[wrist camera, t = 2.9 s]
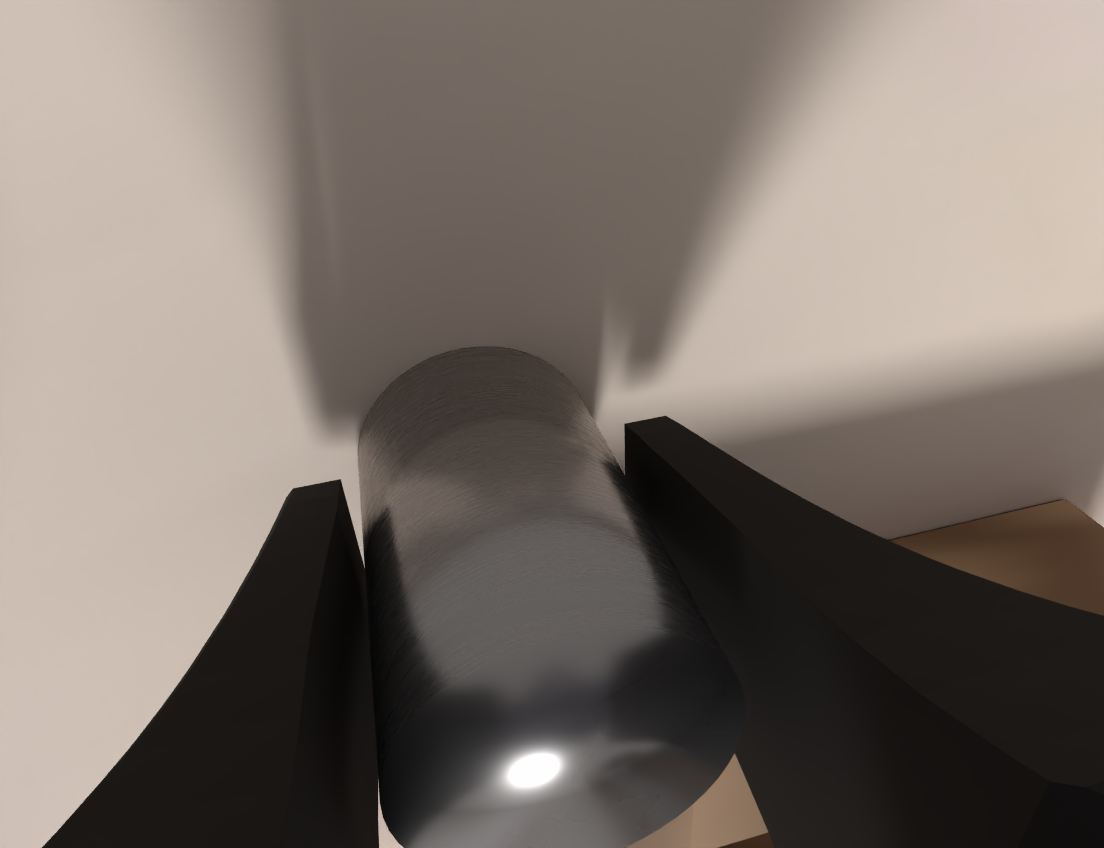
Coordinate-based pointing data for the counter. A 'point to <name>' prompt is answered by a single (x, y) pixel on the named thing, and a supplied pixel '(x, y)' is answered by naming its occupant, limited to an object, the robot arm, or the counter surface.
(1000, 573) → the mount
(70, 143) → the counter surface
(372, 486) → the shiny metal cylinder
